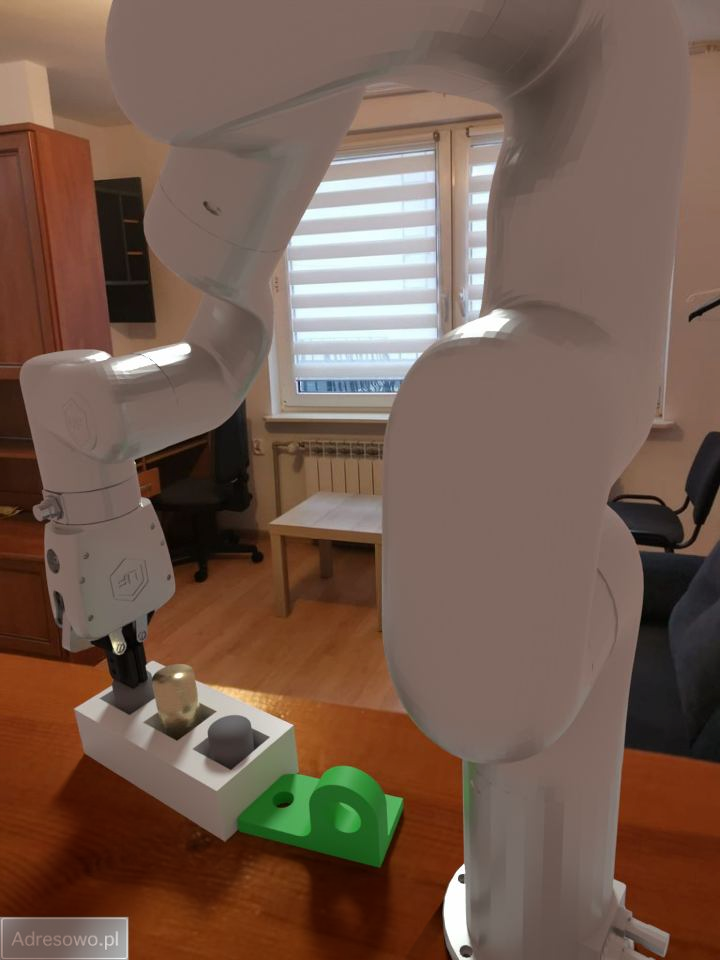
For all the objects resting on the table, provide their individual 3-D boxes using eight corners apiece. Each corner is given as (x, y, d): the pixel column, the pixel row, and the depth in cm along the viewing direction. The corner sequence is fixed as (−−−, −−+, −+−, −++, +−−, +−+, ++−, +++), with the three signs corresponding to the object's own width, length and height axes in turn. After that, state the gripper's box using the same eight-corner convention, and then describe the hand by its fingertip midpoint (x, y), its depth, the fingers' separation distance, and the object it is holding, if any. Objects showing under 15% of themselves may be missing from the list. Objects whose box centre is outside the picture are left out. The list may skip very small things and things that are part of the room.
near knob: (267, 781, 62) (260, 724, 60) (238, 808, 59) (228, 749, 57) (238, 765, 64) (229, 709, 62) (208, 791, 61) (198, 733, 59)
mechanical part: (403, 817, 59) (401, 738, 56) (380, 877, 54) (376, 794, 51) (273, 785, 63) (264, 710, 60) (240, 838, 58) (229, 759, 55)
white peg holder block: (299, 780, 64) (293, 725, 62) (226, 850, 57) (216, 791, 55) (161, 709, 75) (152, 660, 73) (86, 761, 68) (74, 708, 66)
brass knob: (211, 728, 65) (202, 671, 63) (180, 751, 62) (170, 693, 60) (185, 714, 67) (175, 659, 65) (154, 736, 64) (143, 680, 62)
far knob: (169, 728, 69) (159, 676, 67) (139, 750, 67) (128, 696, 65) (145, 716, 71) (135, 665, 69) (115, 737, 69) (104, 684, 67)
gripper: (38, 539, 53) (84, 740, 59) (191, 478, 64) (217, 652, 71) (-14, 520, 57) (35, 710, 64) (138, 466, 69) (167, 632, 75)
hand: (130, 679), depth 67 cm, fingers closed
